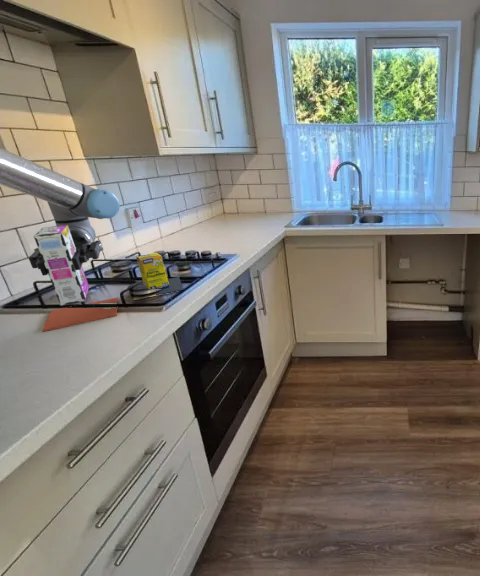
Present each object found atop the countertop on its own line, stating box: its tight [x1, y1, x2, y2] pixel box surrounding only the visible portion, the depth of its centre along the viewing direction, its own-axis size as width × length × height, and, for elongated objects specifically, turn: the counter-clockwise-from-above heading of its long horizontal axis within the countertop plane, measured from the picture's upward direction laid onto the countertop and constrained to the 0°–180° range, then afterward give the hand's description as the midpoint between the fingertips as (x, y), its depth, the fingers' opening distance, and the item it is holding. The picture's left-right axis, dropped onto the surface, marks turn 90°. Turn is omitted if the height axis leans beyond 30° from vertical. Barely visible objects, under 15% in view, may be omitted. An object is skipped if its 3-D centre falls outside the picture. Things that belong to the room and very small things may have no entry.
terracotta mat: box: [41, 297, 119, 333], centre depth 103 cm, size 16×14×1 cm
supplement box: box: [135, 252, 170, 289], centre depth 118 cm, size 6×6×11 cm
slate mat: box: [156, 276, 185, 295], centre depth 120 cm, size 14×14×1 cm
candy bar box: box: [33, 225, 90, 307], centre depth 84 cm, size 11×5×16 cm, turn 34°
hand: (59, 266), depth 80 cm, fingers closed on candy bar box, 5 cm apart
